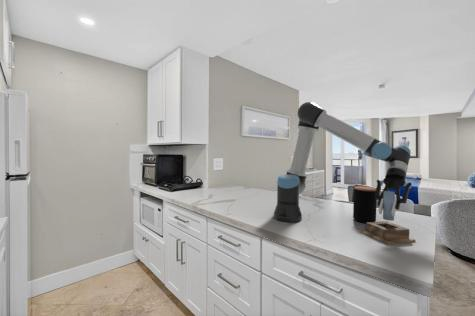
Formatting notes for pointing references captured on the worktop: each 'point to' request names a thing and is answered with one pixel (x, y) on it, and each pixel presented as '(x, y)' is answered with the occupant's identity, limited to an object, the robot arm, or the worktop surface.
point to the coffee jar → (364, 204)
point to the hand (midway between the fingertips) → (386, 213)
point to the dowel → (388, 205)
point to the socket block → (387, 232)
